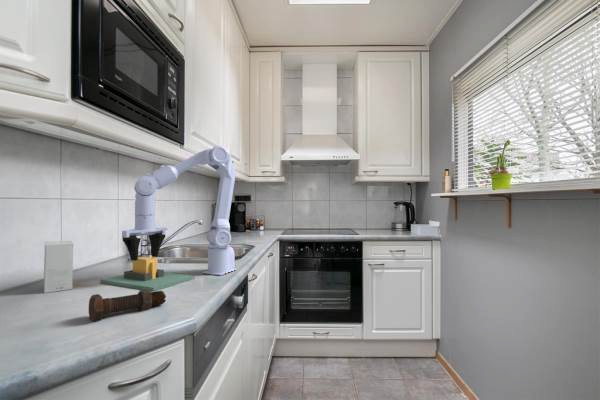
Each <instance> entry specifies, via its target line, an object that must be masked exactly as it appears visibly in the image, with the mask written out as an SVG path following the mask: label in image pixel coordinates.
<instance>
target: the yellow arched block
mask: <svg viewBox="0 0 600 400" xmlns="http://www.w3.org/2000/svg"><path fill="white" fill-rule="evenodd" d="M157 269H158V257H154V256H151V257H150V256H140V257H139V256H138V260H136V261H134V260H132V270H133V272H137V273H144V274H146V273H151V279H154V278H156V271H157Z"/></svg>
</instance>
